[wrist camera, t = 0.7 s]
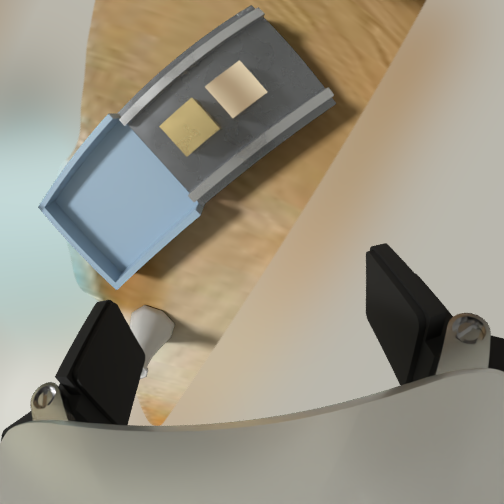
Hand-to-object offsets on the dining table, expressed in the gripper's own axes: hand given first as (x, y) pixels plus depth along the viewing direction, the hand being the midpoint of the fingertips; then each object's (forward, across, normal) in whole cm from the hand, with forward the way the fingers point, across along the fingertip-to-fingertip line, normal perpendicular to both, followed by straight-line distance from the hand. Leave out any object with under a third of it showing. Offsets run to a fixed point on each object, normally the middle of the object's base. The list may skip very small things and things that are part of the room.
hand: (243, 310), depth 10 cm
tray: (+26, +15, 0) cm, 30 cm away
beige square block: (+22, -2, -9) cm, 24 cm away
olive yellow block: (+22, +3, -6) cm, 23 cm away
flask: (+26, +19, +19) cm, 37 cm away
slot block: (+26, 0, -8) cm, 27 cm away
